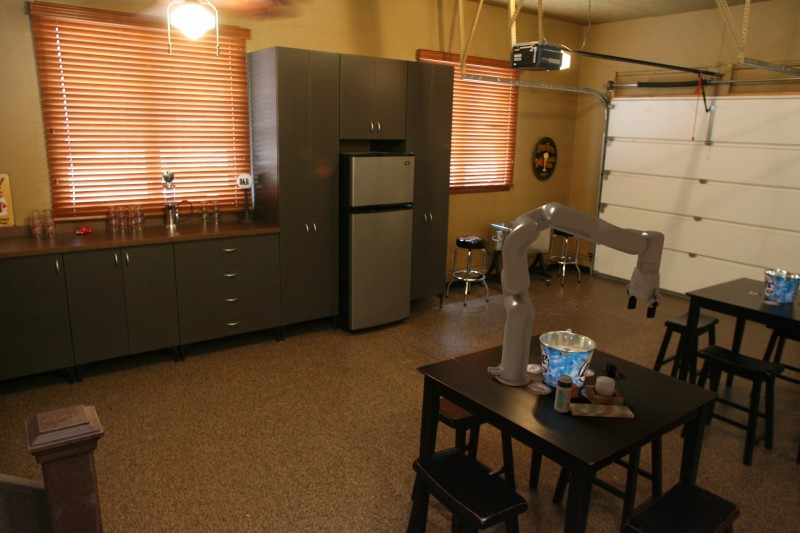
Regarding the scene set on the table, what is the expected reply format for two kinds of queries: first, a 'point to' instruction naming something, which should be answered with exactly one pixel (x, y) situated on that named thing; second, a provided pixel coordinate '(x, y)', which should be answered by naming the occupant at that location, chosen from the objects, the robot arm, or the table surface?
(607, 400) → the square wooden tray
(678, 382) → the table surface
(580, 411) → the board
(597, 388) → the white squat cylinder
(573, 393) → the die
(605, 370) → the black irregular block
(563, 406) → the spice shaker bottle
